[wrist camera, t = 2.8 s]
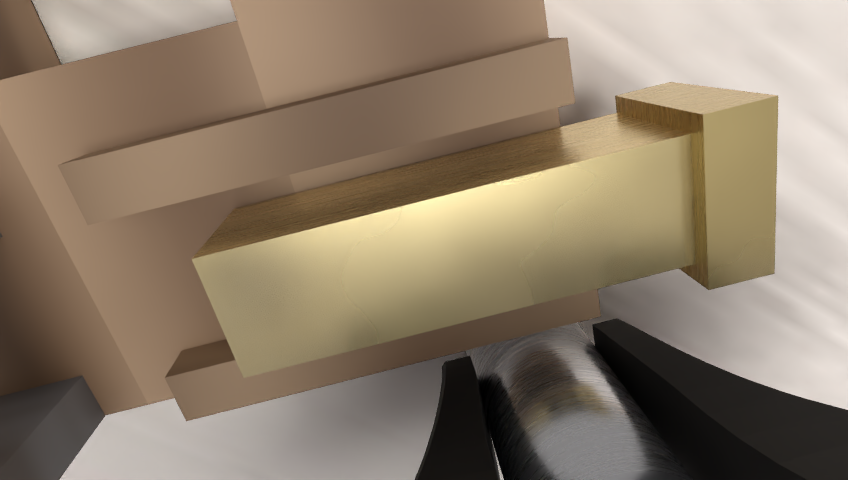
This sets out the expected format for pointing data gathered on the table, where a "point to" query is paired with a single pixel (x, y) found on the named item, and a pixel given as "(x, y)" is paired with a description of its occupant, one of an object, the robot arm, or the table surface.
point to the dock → (226, 190)
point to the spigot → (566, 412)
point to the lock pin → (502, 227)
